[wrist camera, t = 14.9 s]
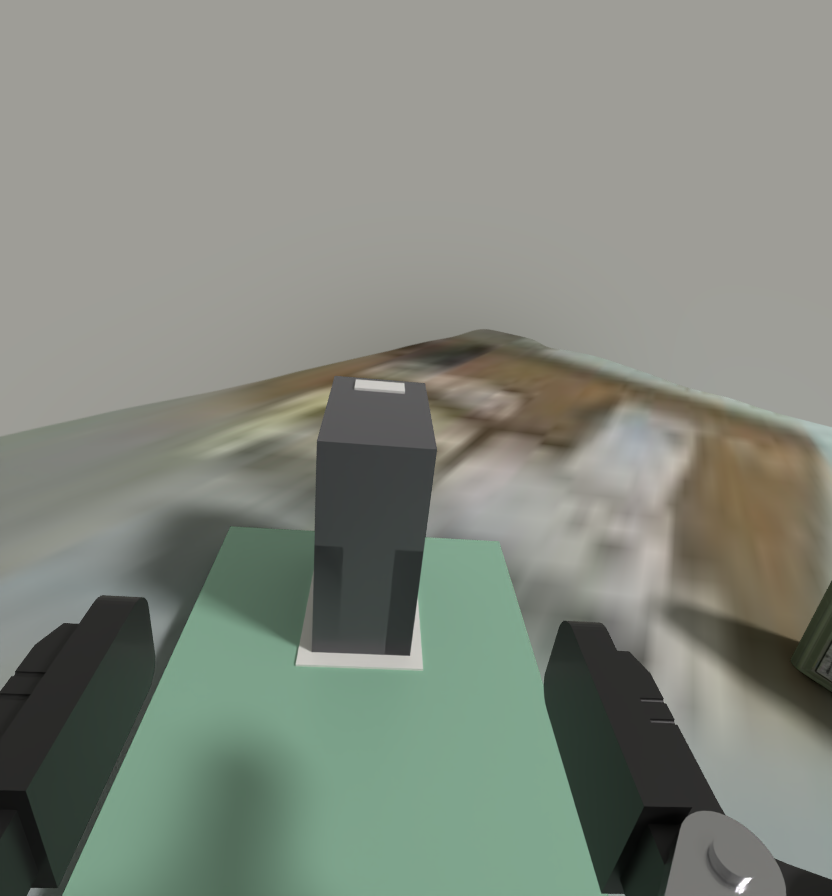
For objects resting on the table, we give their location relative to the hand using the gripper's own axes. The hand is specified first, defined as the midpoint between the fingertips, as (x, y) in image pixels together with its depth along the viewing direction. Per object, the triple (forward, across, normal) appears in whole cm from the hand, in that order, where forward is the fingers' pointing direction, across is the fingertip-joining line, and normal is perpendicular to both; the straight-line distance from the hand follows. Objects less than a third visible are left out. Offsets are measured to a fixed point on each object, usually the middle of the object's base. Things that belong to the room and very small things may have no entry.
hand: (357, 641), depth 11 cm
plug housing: (+11, 0, +8) cm, 14 cm away
